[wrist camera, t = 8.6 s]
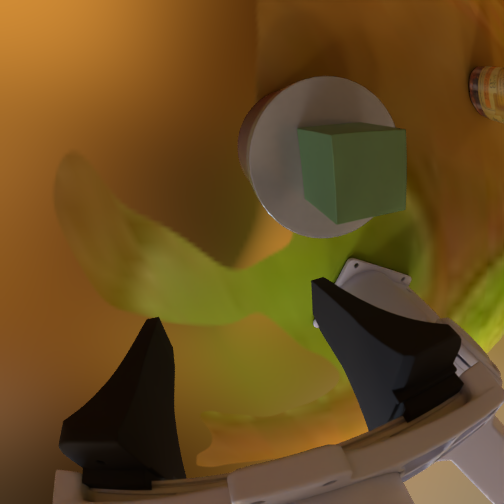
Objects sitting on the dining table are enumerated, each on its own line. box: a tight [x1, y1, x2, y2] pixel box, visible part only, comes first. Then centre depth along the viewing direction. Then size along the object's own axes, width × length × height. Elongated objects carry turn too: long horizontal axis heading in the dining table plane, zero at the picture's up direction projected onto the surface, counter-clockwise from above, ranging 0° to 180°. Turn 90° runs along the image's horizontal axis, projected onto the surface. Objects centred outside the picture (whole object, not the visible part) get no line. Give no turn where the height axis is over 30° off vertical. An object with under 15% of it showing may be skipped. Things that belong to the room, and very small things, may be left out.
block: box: [297, 122, 407, 225], centre depth 14 cm, size 4×4×4 cm
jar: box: [238, 76, 395, 238], centre depth 18 cm, size 10×10×6 cm
